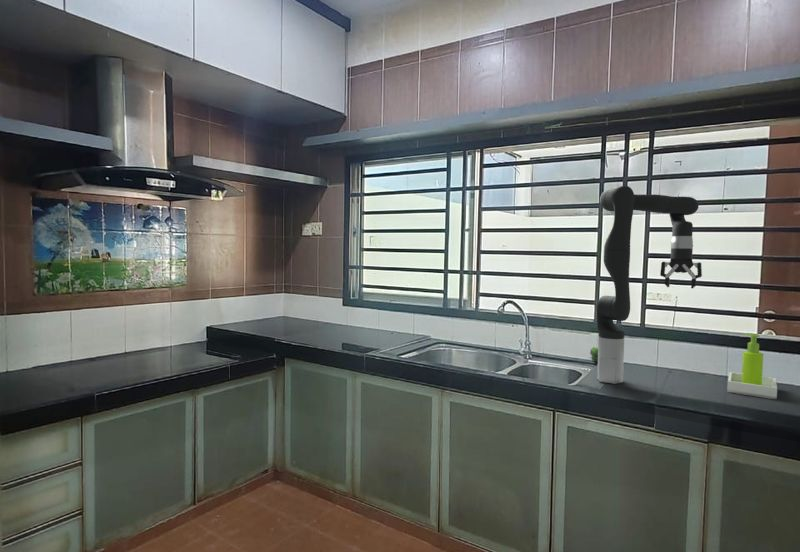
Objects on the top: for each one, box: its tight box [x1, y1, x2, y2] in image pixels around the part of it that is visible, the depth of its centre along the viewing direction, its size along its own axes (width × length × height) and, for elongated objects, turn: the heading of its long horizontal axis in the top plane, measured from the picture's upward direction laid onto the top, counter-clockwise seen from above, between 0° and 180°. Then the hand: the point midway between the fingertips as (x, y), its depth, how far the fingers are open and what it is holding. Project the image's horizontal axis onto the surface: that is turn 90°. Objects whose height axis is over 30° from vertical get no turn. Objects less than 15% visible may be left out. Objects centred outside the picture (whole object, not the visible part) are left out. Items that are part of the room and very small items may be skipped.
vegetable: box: [589, 346, 598, 364], centre depth 218 cm, size 7×7×20 cm
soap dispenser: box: [741, 332, 764, 385], centre depth 172 cm, size 6×7×20 cm
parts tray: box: [726, 371, 778, 400], centre depth 172 cm, size 16×14×4 cm
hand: (680, 287), depth 191 cm, fingers open, 8 cm apart
